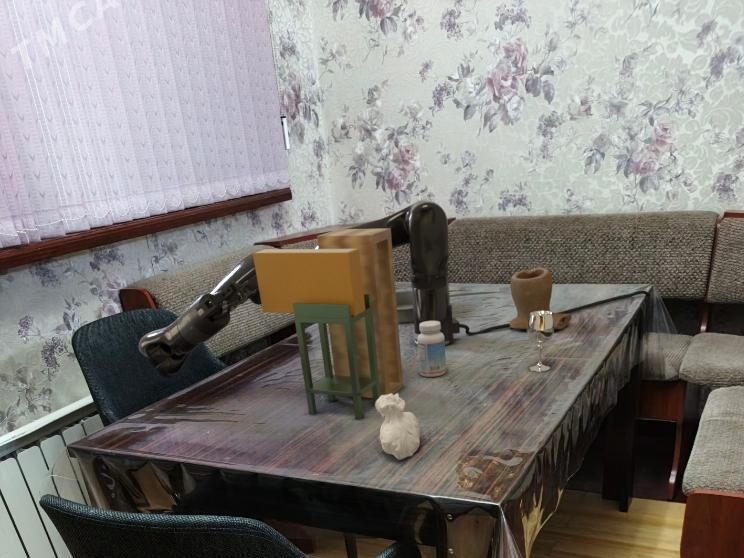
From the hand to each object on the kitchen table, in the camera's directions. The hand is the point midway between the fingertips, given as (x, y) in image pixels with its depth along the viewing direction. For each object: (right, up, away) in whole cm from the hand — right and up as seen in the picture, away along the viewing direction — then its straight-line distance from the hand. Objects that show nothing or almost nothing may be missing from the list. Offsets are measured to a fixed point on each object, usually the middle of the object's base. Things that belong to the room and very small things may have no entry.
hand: (249, 280), depth 140 cm
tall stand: (+23, -19, +13) cm, 33 cm away
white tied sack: (+30, -36, -15) cm, 49 cm away
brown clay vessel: (+66, +3, +45) cm, 80 cm away
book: (+13, -7, -3) cm, 15 cm away
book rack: (+19, -24, +5) cm, 31 cm away
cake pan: (+32, +15, +71) cm, 79 cm away
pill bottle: (+37, -14, +20) cm, 45 cm away
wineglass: (+61, -13, +18) cm, 65 cm away
